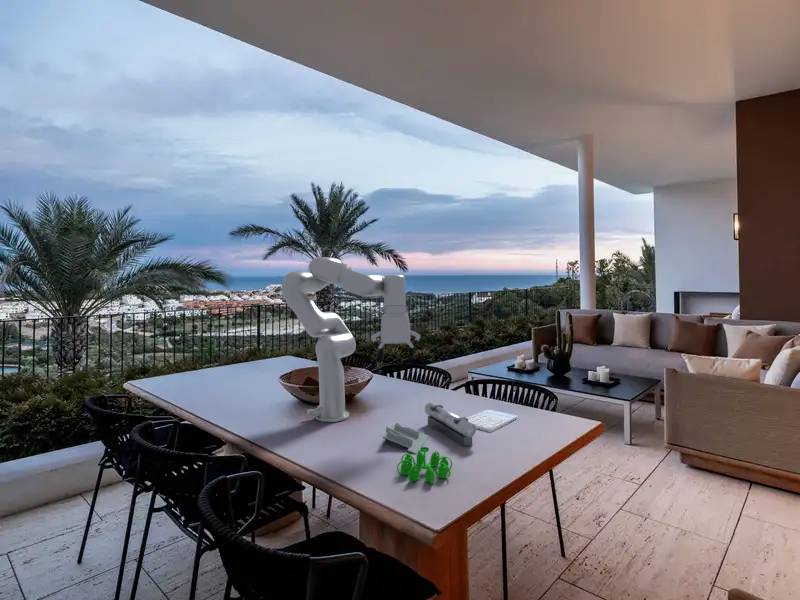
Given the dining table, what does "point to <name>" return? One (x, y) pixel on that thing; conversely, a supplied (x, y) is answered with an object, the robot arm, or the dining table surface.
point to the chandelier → (424, 466)
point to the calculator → (491, 419)
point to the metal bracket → (406, 437)
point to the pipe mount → (450, 424)
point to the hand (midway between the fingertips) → (396, 359)
